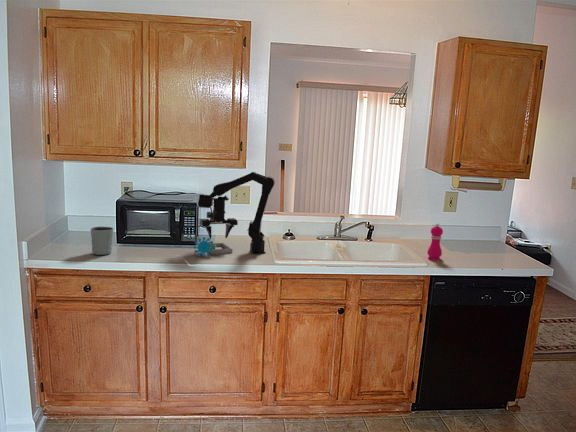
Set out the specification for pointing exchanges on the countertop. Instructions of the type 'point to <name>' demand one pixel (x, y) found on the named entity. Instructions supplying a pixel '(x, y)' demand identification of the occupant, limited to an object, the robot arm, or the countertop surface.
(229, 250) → the tray
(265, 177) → the robot arm
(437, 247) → the pepper mill
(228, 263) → the countertop surface
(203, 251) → the gear
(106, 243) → the grey cup
